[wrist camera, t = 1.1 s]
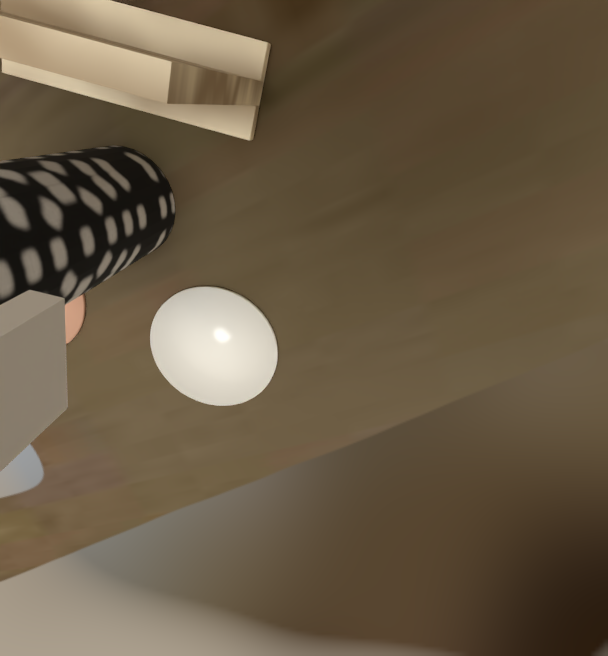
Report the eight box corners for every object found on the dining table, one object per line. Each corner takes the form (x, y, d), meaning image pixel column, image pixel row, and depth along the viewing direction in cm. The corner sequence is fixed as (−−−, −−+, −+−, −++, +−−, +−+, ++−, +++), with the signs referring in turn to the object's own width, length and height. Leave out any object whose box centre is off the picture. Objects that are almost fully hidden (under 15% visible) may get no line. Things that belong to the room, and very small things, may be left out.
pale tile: (159, 269, 40) (157, 271, 40) (291, 307, 40) (290, 309, 39) (145, 383, 45) (143, 385, 44) (263, 417, 44) (262, 420, 44)
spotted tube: (182, 256, 39) (9, 382, 21) (84, 255, 41) (-157, 374, 22) (166, 143, 36) (-54, 180, 18) (61, 147, 37) (-245, 184, 19)
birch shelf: (10, -26, 33) (-281, -130, 19) (270, 44, 32) (179, -8, 18) (11, 73, 36) (-244, 49, 21) (253, 139, 35) (160, 161, 21)
